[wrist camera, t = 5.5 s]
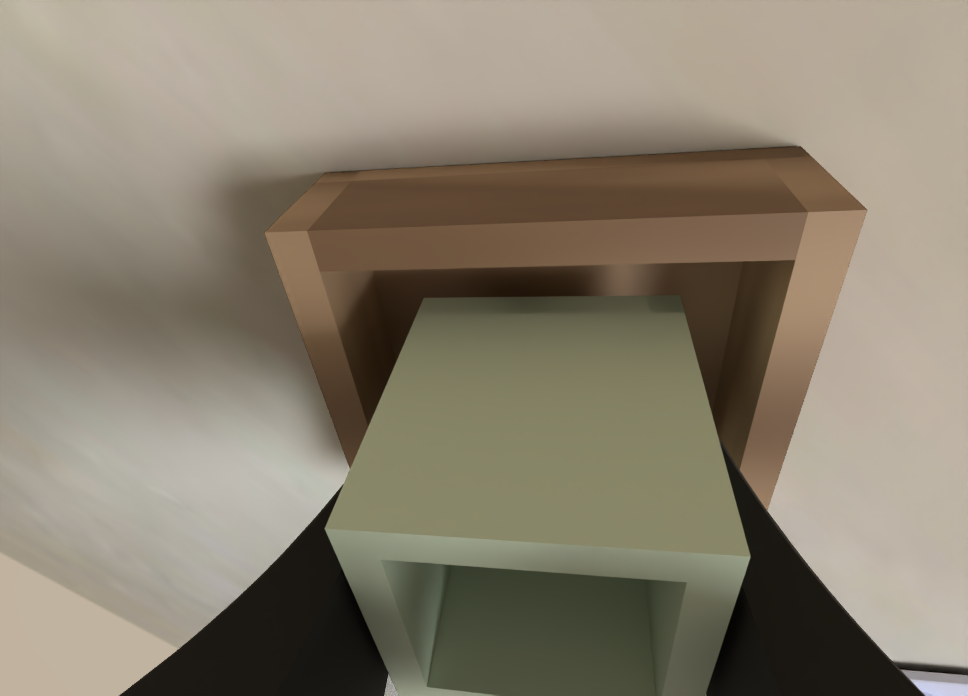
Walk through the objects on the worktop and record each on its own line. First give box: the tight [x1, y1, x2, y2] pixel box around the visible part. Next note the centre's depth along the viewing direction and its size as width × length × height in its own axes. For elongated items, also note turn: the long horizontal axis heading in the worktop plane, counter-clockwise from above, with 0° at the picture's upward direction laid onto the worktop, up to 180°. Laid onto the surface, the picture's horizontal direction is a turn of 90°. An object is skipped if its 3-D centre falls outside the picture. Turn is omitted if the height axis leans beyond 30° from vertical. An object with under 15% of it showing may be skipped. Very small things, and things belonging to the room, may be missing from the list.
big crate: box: [264, 146, 867, 510], centre depth 13 cm, size 10×10×3 cm
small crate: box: [325, 295, 751, 696], centre depth 10 cm, size 5×5×6 cm
